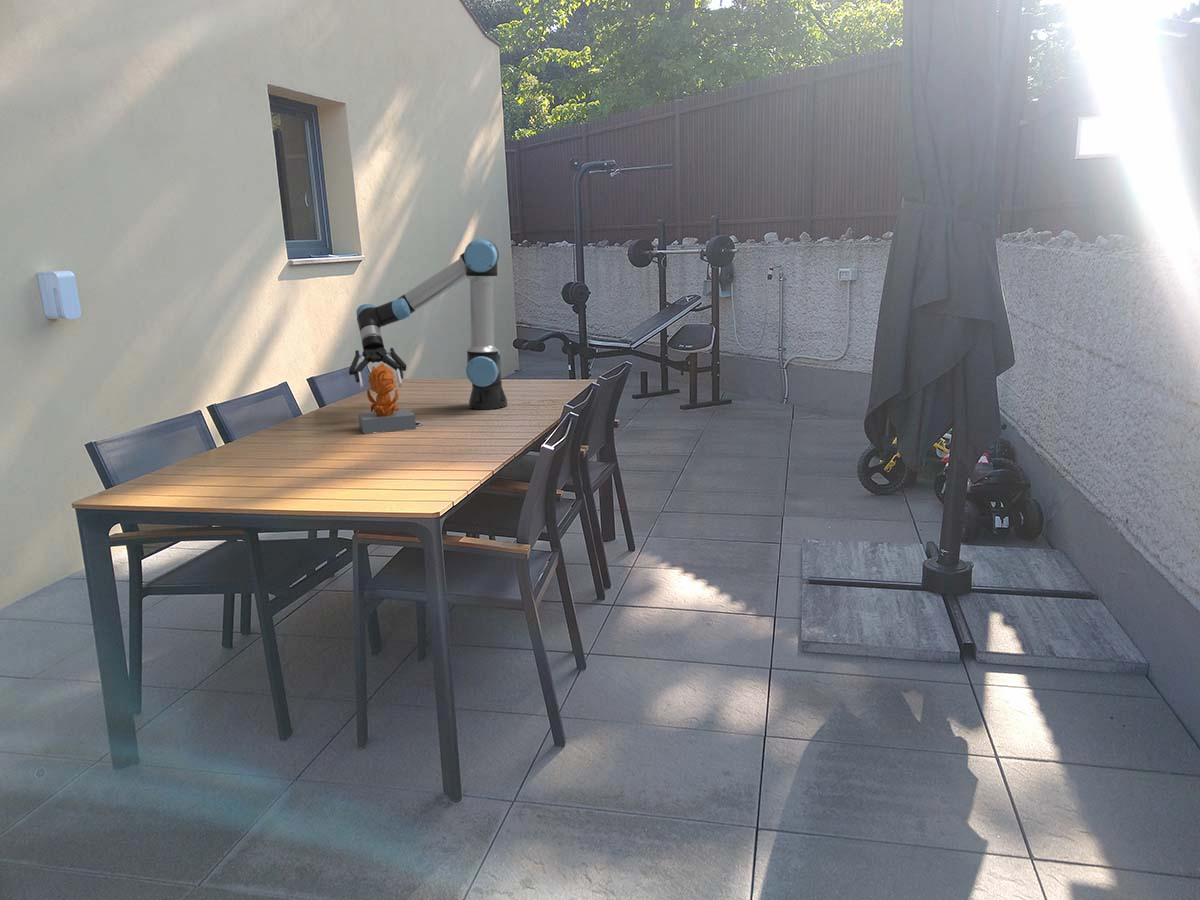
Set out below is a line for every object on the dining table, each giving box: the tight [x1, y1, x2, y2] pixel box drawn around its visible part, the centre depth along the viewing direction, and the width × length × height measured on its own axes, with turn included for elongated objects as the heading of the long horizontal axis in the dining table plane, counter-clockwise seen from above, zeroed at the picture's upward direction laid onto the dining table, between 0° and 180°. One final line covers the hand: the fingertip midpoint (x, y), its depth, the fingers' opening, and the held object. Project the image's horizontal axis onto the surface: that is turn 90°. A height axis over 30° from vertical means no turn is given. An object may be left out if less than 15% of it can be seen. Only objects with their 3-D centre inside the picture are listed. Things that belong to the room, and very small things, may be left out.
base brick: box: [357, 408, 417, 435], centre depth 321 cm, size 18×14×5 cm
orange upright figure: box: [366, 362, 399, 416], centre depth 318 cm, size 11×11×18 cm
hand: (381, 387), depth 322 cm, fingers open, 13 cm apart
